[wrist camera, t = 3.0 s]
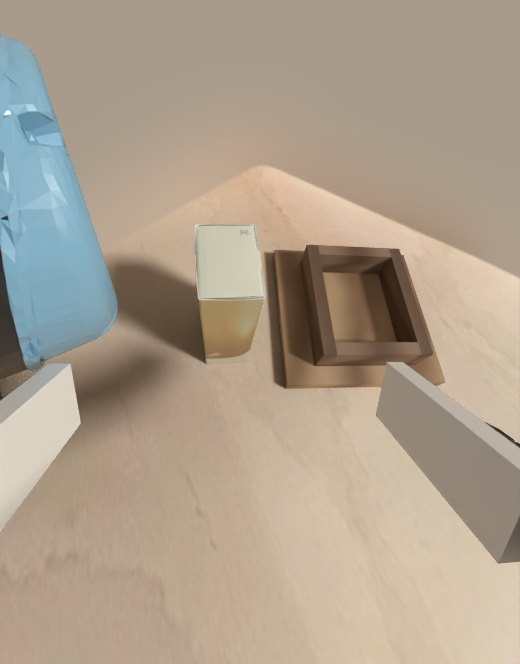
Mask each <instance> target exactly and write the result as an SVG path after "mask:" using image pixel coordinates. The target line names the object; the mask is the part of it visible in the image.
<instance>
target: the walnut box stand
mask: <svg viewBox="0 0 520 664" xmlns="http://www.w3.org/2000/svg"><path fill="white" fill-rule="evenodd" d="M273 259H274V271H275V282H276V293H277V304H278V315H279V326H280V337H281V348H282V360H283V371H284V382H285V389H286V388H337V387H382V383H383V379H384V374H385V369H386V364H387V362H403V363H405V364H406V365H407V366H409V367H410V368H412V369H413V370H414V371H416V372H417V373H418V374H420V375H421V376H422V377H424V378H425V379H426V380H428V381H429V382H431V383H432V384H433V385H435V386H438V385H440V384H442V383H445V379H444V376H443V373H442V370H441V367H440V364H439V361H438V358H437V355H436V352H435V349H434V346H433V343H432V340H431V337H430V334H429V331H428V328H427V325H426V322H425V319H424V316H423V313H422V310H421V307H420V304H419V301H418V298H417V295H416V292H415V289H414V286H413V283H412V280H411V277H410V274H409V271H408V268H407V265H406V262H405V259H404V256H403V255H401V254H400V251H399V249H389V248H366V247H344V246H322V245H307V246H306V249H305V251H288V250H275V252H274V256H273Z"/></svg>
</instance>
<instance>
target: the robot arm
mask: <svg viewBox="0 0 520 664" xmlns="http://www.w3.org/2000/svg"><path fill="white" fill-rule="evenodd" d="M117 309H118V303H117V298H116V294H115V291H114V288H113V284H112V281H111V278H110V275H109V272H108V269H107V266H106V263H105V260H104V257H103V254H102V251H101V248H100V245H99V242H98V239H97V236H96V233H95V229H94V227H93V224H92V221H91V218H90V215H89V212H88V209H87V206H86V203H85V200H84V197H83V194H82V192H81V188H80V185H79V183H78V180H77V177H76V174H75V171H74V168H73V165H72V162H71V160H70V157H69V154H68V152H67V149H66V145H65V141H64V138H63V136H62V133H61V130H60V127H59V124H58V122H57V119H56V116H55V113H54V110H53V107H52V103H51V100H50V97H49V94H48V91H47V88H46V85H45V82H44V79H43V76H42V73H41V70H40V68H39V65H38V62H37V59H36V57H35V56H34V54H33V53H32V51H31V50H30V49H29V48H28V47H27V46H25V45H24V44H23V43H22V42H20V41H19V40H16V39H12V38H8V37H5V36H4V35H2V34H1V33H0V379H3V378H6V377H8V376H11V375H13V374H16V373H19V372H21V371H24V370H27V369H28V370H30V371H34V370H37V369H39V368H40V367H41V366H43V364H44V362H45V361H46V360H48V359H51V358H53V357H55V356H58V355H60V354H62V353H65V352H67V351H69V350H72V349H74V348H76V347H79V346H81V345H83V344H86V343H88V342H90V341H93V340H95V339H97V338H99V337H100V336H102V335H103V334H105V333H106V332H107V331H108V330H109V328H110V327H111V325H112V324H113V322H114V320H115V318H116V315H117ZM376 416H377V417H378V418H379V419H380V421H381V422H382V423H383V424H384V426H385V427H386V428H387V429H388V430H389V432H390V433H391V434H392V435H393V436H394V438H395V439H396V440H397V441H398V442H399V444H400V445H401V446H402V447H403V449H404V450H405V451H406V452H407V453H408V455H409V456H410V457H411V458H412V459H413V461H414V462H415V463H416V464H417V466H418V467H419V468H420V469H421V470H422V472H423V473H424V474H425V475H426V476H427V478H428V479H429V480H430V481H431V483H432V484H433V485H434V486H435V487H436V489H437V490H438V491H439V492H440V493H441V495H442V496H443V497H444V498H445V500H446V501H447V502H448V503H449V504H450V506H451V507H452V508H453V509H454V510H455V512H456V513H457V514H458V515H459V516H460V518H461V519H462V520H463V521H464V523H465V524H466V525H467V526H468V527H469V529H470V530H471V531H472V532H473V533H474V535H475V536H476V537H477V538H478V540H479V541H480V542H481V543H482V544H483V546H484V547H485V548H486V549H487V550H488V552H489V553H490V554H491V555H492V557H493V558H494V559H495V560H496V561H497V563H498V564H499V563H509V562H519V561H520V444H519V443H518V442H515V441H514V439H512V438H511V437H509V436H508V435H507V434H505V433H504V432H502V431H501V430H500V429H498V428H496V427H494V426H492V425H490V424H488V423H486V422H484V421H482V420H481V419H480V418H478V417H477V416H475V415H474V414H473V413H471V412H470V411H469V410H467V409H466V408H465V407H463V406H462V405H460V404H459V403H458V402H456V401H455V400H454V399H452V398H451V397H450V396H448V395H447V394H446V393H444V392H443V391H441V390H440V389H439V388H437V387H436V386H435V385H433V384H432V383H431V382H429V381H428V380H426V379H425V378H424V377H422V376H421V375H420V374H418V373H417V372H416V371H414V370H413V369H412V368H410V367H409V366H407V365H406V364H405V363H403V362H387V364H386V369H385V374H384V379H383V383H382V388H381V393H380V398H379V403H378V408H377V412H376ZM80 424H81V422H80V416H79V410H78V404H77V399H76V393H75V387H74V381H73V375H72V369H71V364H70V363H49V364H48V365H46V366H45V367H44V368H42V369H41V370H40V371H39V372H37V373H36V374H35V375H33V376H32V377H31V378H29V379H28V380H27V381H25V382H24V383H23V384H22V385H20V386H19V387H18V388H16V389H15V390H14V391H12V392H11V393H10V394H8V395H7V396H6V397H5V398H3V399H2V396H1V394H0V532H1V531H2V529H3V528H4V527H5V525H6V524H7V523H8V521H9V520H10V518H11V517H12V516H13V514H14V513H15V512H16V510H17V509H18V508H19V506H20V505H21V504H22V502H23V501H24V500H25V498H26V497H27V495H28V494H29V493H30V491H31V490H32V489H33V487H34V486H35V485H36V483H37V482H38V481H39V479H40V478H41V476H42V475H43V474H44V472H45V471H46V470H47V468H48V467H49V466H50V464H51V463H52V462H53V460H54V459H55V458H56V456H57V455H58V453H59V452H60V451H61V449H62V448H63V447H64V445H65V444H66V443H67V441H68V440H69V439H70V437H71V436H72V434H73V433H74V432H75V430H76V429H77V428H78V426H79V425H80Z"/></svg>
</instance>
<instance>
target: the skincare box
mask: <svg viewBox="0 0 520 664" xmlns="http://www.w3.org/2000/svg"><path fill="white" fill-rule="evenodd" d="M194 254H195V272H196V285H197V296H198V305H199V312H200V320H201V328H202V336H203V344H204V353H205V361H206V363H207V364H210V363H231V362H244V361H248V360H249V356H250V353H251V349H252V345H253V342H254V338H255V335H256V331H257V327H258V324H259V320H260V316H261V313H262V309H263V306H264V302H265V299H266V293H265V285H264V278H263V272H262V264H261V258H260V252H259V246H258V239H257V233H256V227H255V225H254V224H203V225H195V232H194Z"/></svg>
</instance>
